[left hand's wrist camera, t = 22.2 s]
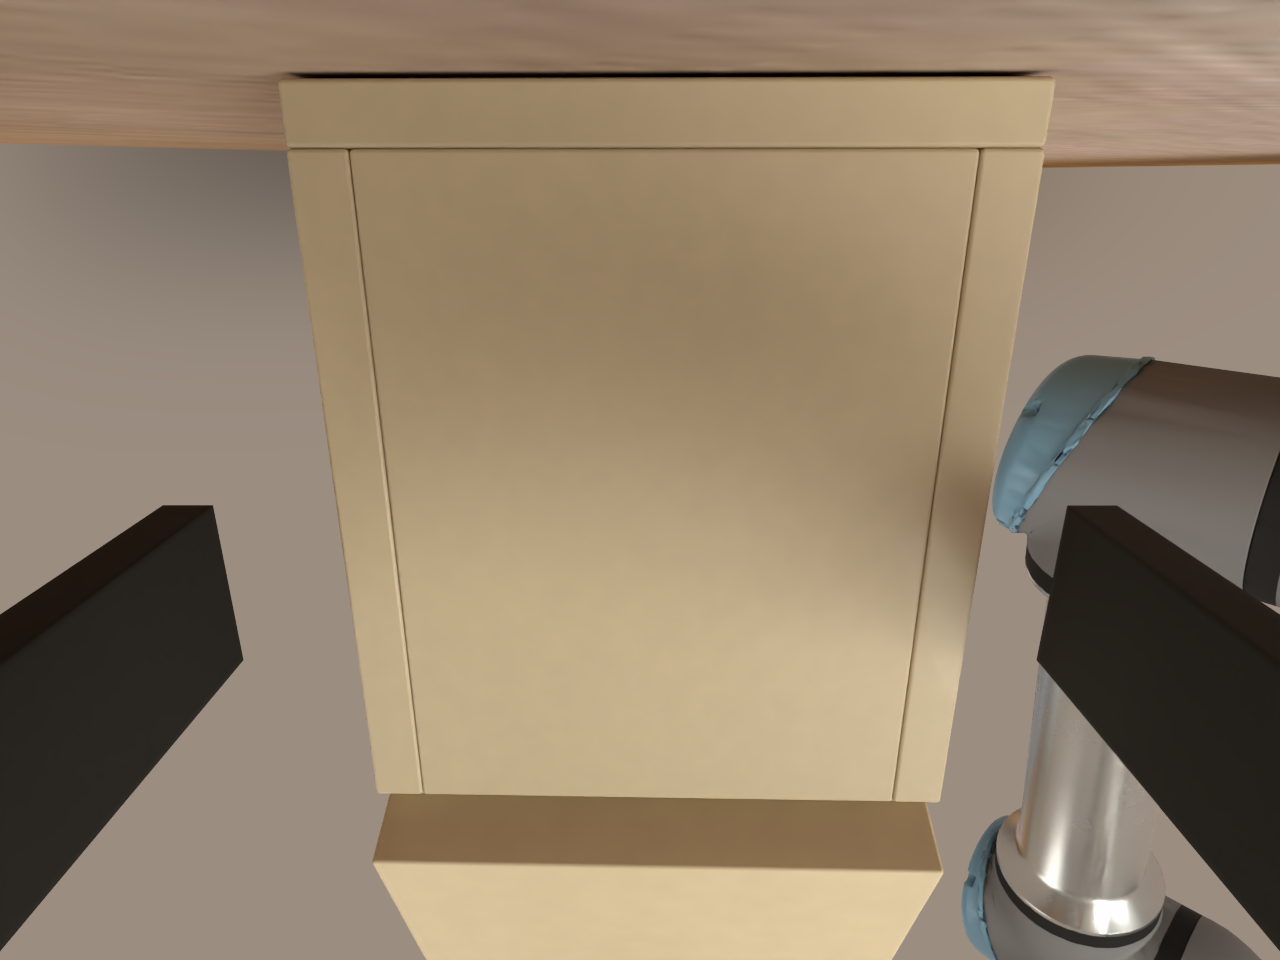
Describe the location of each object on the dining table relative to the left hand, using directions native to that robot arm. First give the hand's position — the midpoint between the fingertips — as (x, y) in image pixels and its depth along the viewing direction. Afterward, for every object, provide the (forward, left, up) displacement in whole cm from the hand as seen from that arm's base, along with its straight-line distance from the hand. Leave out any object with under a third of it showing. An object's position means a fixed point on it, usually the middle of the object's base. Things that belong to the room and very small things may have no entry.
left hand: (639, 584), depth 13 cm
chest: (+5, -3, -7) cm, 9 cm away
